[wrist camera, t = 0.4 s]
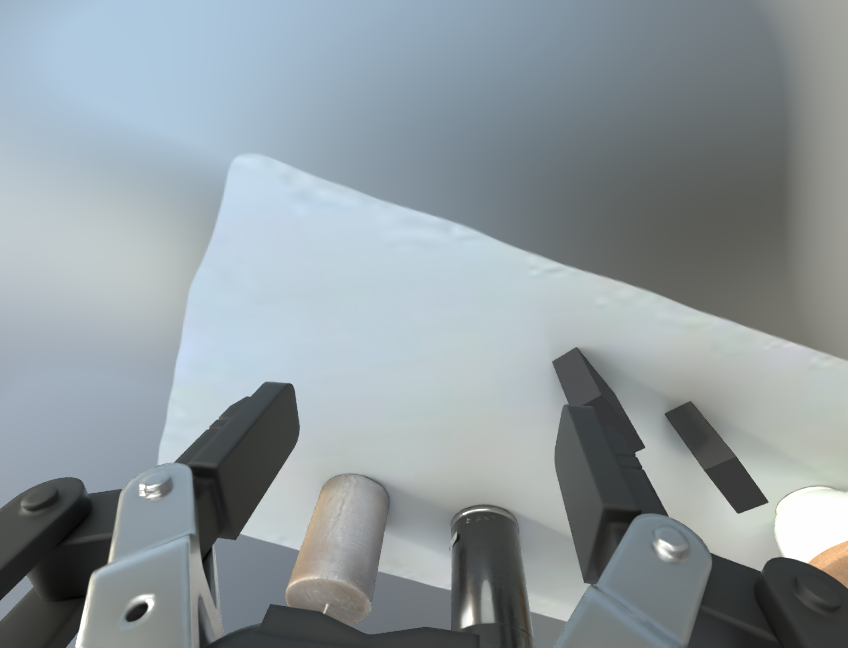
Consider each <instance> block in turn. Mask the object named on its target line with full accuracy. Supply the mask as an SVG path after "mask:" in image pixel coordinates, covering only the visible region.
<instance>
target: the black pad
mask: <svg viewBox="0 0 848 648" xmlns="http://www.w3.org/2000/svg"><path fill="white" fill-rule="evenodd" d="M665 415H666V417H667V418H668V420H669V421H670V422H671V424H672V425H673V427H674V428H675V430H676V431H677V432H678V434H679V435H680V437H681V438H682V440H683V441H684V442H685V444H686V445H687V447H688V448H689V449H690V451H691V452H692V454H693V455H694V457H695V458H696V459H697V461H698V462H699V464H700V465H701V467H702V468H703V469H704V471H705V472H706V473H707V475H708V476H709V477H710V479H711V480H712V481H713V482H714V484H715V485H716V486H717V488H718V489H719V490H720V492H721V493H722V494H723V495H724V497H725V498H726V499H727V501H728V502H729V503H730V505H731V506H732V507H733V508H734V510H735V511H736V512H737V513H738V514H739V513H742V512H744V511H747V510H750V509H753V508H755V507H758V506H761V505H763V504H766V503H768V500H767V499H766V497H765V496H764V495H763V493H762V492H761V490H760V489H759V488H758V486H757V485H756V483H755V482H754V481H753V479H752V478H751V476H750V475H749V474H748V472H747V471H746V469H745V468H744V466H743V465H742V464H741V462H740V461H739V459H738V458H737V457H736V455H735V454H734V453H733V452H732V450H731V449H730V448H729V447H728V446H727V444H726V443H725V442H724V441H723V440H722V438H721V437H720V436H719V435H718V434H717V432H716V431H715V430H714V429H713V427H712V426H711V425H710V424H709V423H708V421H707V420H706V419H705V418H704V417H703V415H702V414H701V413H700V412H699V411H698V409H697V408H696V407H695V406H694V405H693V403H692V402H688V403H686V404H684V405H682V406H680V407H678V408H676V409H674V410H672V411H670V412H668V413H666V414H665Z"/></svg>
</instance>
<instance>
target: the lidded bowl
mask: <svg viewBox="0 0 848 648" xmlns="http://www.w3.org/2000/svg"><path fill="white" fill-rule="evenodd" d="M776 514H777V516H776V519H775V524H774V529H775V537H776V541H777V544H778V547H779V549H780V551H781V553H782V555H783V557H785V558H792V559H796V560H799V561H802V562H805V563H808V564H810V565H812V566H815V567H816V568H818V569H820V570H822V571H824V572H826V573H827V574H829V575H831V576H832V577H834V578H835V579H836V580H838V581H839V582H841V583H842V584H843V585H844V586H846V587H847V588H848V492H844V491H838V490H834V489H832V488H829V487H822V486H815V487H808V488H804V489H800V490H798V491H795V492H793V493H791V494H789V495H788V496H786V497H785V498H783V499H782V500H781V501H780V503H779V504H778V506H777V508H776Z"/></svg>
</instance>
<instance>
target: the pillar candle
mask: <svg viewBox="0 0 848 648" xmlns="http://www.w3.org/2000/svg"><path fill="white" fill-rule="evenodd" d="M388 508H389V497H388V494H387V492H386V490H385V489H384V488H383V487H382V486H381V485H379V484H377V483H375V482H373V481H372V480H370V479H368V478H366V477H364V476H360V475H356V474H344V475H339V476H336V477H334V478H332V479H330V480H329V481H328V482H327V483H326V484H325V485H324V486H323V488H322V490H321V492H320V495H319V498H318V501H317V504H316V507H315V510H314V512H313V515H312V518H311V521H310V523H309V526H308V529H307V532H306V535H305V538H304V541H303V544H302V546H301V549H300V552H299V555H298V558H297V561H296V564H295V567H294V569H293V572H292V575H291V578H290V581H289V584H288V587H287V590H286V594H285V596H286V602H287V603H288V606H290V607H293V608H300V609H307V610H314V611H320V612H322V613H324V614H326V615H328V616H330V617H332V618H334V619H336V620H338V621H340V622H342V623H344V624H346V625H354V624H356V623H359V622H361V621H362V620H363V619H365V618H366V617H367V616H368V615H369V613H370V611H372V607H371V606H372V599H373V593H374V586H375V582H376V576H377V571H378V565H379V559H380V554H381V548H382V542H383V536H384V531H385V525H386V519H387V513H388Z"/></svg>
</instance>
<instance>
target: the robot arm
mask: <svg viewBox="0 0 848 648" xmlns="http://www.w3.org/2000/svg"><path fill="white" fill-rule="evenodd" d="M299 430H300V426H299V418H298V411H297V404H296V397H295V390H294V387H293V385H292V384H290V383H278V382H265V383H264V384H262V385H261V387H260V388H259V389H258V390H257V391H256V392H255V393H254V394H253V395H252V396H251V397H245V398H243V399H242V400H240V401H238V402H236V403H235V404H233V405H231V406H230V407H229V408H228V409H227V410H226V411H225V412H224V413H223V414H222V415H221V416H220V417H219V420H216V421H215V422H214V423H213V424H212V425H211V426H210V427H209V430H206V431H205V432H204V433H203V434H202V435H201V436H200V437H199V438H198V439H197V440H196V441H195V442H194V443H193V444H192V445H191V446H190V447H189V448H188V449H187V450H186V451H185V452H184V453H183V454H182V455H181V456H180V457H179V458H178V459H177V460H176V461H175V462H174V463H167V464H162V465H158V466H156V467H153V468H150V469H148V470H146V471H144V472H142V473H140V474H139V475H137V476H136V477H134V478H133V479H132V480H131V481H130V482H129V483H127V484H126V486H125V487H124V488H123V489H119V490H112V491H105V492H98V493H91V494H88V493H87V491H86V488H85V486H84V484H83V482H82V481H81V480H79V479H77V478H72V477H69V478H68V477H66V478H58V479H54V480H50V481H47V482H44V483H42V484H39V485H37V486H34V487H32V488H30V489H28V490H26V491H25V492H23V493H21V494H20V495H18V496H17V497H15V498H14V499H13V500H11V501H10V502H8V503H7V504H6V505H5V506H3V507H2V508H1V509H0V600H1V599H2V598H3V597H4V596H5V595H6V594H7V593H8V592H9V591H11V589H13V587H15V586H16V584H18V583H19V582H20V581H21V580H22V579H23V577H25V576H26V575H27V576H28V578H29V580H30V582H31V583H32V585H33V588H32V589H31V590H30V591H29V592H28V593H27V595H25V596H24V598H23V599H22V600H21V601H20V602H19V603H18V604H17V605H16V606H15V607H14V608H13V609H12V610H11V611H10V612H9V613H8V614H7V615H6V616H5V617H4V618H3V619H2V620H1V621H0V648H66V647H67V645H68V644H69V643H70V642H71V640H72V639H73V638H74V637H75V635H76V634H77V633H78V631H79V634H78V639H77V644H76V648H536V646H535V640H534V634H533V627H532V621H531V614H530V607H529V601H528V594H527V588H526V581H525V574H524V568H523V561H522V555H521V547H520V541H519V529H518V523H517V521H516V519H515V518H514V516H513V515H512V514H510V513H509V512H508V511H506V510H504V509H501V508H499V507H495V506H488V505H479V506H473V507H469V508H466V509H464V510H462V511H460V512H459V513H458V514H457V515H456V516H455V517H454V518H453V521H452V525H451V533H452V540H451V542H450V547H449V551H450V549H451V547H452V595H451V597H452V598H451V600H452V601H451V630H444V629H437V628H431V627H421V628H415V629H408V630H401V631H394V632H387V633H381V634H372V635H370V634H365V633H363V632H360V631H358V630H356V629H354V628H352V627H350V626H348V625H346V624H344V623H342V622H340V621H338V620H336V619H334V618H332V617H330V616H328V615H326V614H324V613H322V612H320V611H314V610H307V609H300V608H293V607H286V606H279V605H273V604H270V606H269V608H268V610H267V613H266V615H265V617H264V619H263V621H262V623H260V624H255V625H251V626H247V627H244V628H241V629H239V630H236V631H234V632H231V633H229V634H227V635H225V636H224V632H223V626H222V618H221V608H220V597H219V587H218V576H217V565H216V555H215V550H214V547H213V544H214V542H215V541H216V539H217V538H224V539H232V540H236V539H237V537H238V536H239V534H240V532H241V531H242V529H243V528H244V526H245V524H246V523H247V521H248V520H249V518H250V517H251V515H252V513H253V512H254V510H255V509H256V507H257V505H258V504H259V502H260V501H261V499H262V498H263V496H264V494H265V493H266V491H267V490H268V488H269V487H270V485H271V483H272V482H273V480H274V479H275V477H276V475H277V474H278V472H279V471H280V469H281V468H282V466H283V464H284V463H285V461H286V460H287V458H288V456H289V455H290V453H291V452H292V450H293V449H294V447H295V445H296V443H297V440H298V437H299ZM635 455H636V454H635V453H634V451H633V449H632V447H631V445H630V443H629V441H628V440H627V439H626V438H625V437H624V436H623V435H622V434H621V433H620V432H619V431H617V430H616V429H615V428H614V427H613V426H602V424H601V422H600V420H599V418H598V416H597V413H596V411H595V409H594V408H593V407H591V406H578V405H564V406H563V409H562V413H561V418H560V424H559V430H558V435H557V441H556V446H555V468H556V473H557V477H558V481H559V485H560V489H561V493H562V497H563V501H564V505H565V509H566V513H567V517H568V521H569V525H570V528H571V532H572V536H573V540H574V544H575V548H576V552H577V556H578V560H579V564H580V568H581V572H582V576H583V580H584V583H589V584H591V585H590V586H589V587H588V588H587V590H586V591H585V593H584V595H583V596H582V598H581V600H580V602H579V603H578V605H577V607H576V608H575V610H574V612H573V613H572V615H571V617H570V619H569V620H568V622H567V624H566V626H565V627H564V629H563V631H562V632H561V634H560V636H559V637H558V639H557V641H556V643H555V644H554V646H553V648H848V588H847V587H846V586H844V585H843V584H842V583H841V582H839V581H838V580H836V579H835V578H834V577H832V576H831V575H829V574H827V573H826V572H824V571H822V570H820V569H818V568H816V567H815V566H812V565H810V564H808V563H805V562H802V561H799V560H796V559H792V558H785V557H778V558H773V559H771V560H769V561H768V562H767V563H766V564H765V566H764V568H763V570H762V572H760V571H758V570H755V569H752V568H749V567H747V566H744V565H741V564H738V563H736V562H733V561H730V560H727V559H725V558H722V557H719V556H717V555H714V554H712V553H710V551H709V550H708V548H707V546H706V545H705V543H704V542H703V541H702V539H701V538H700V537H699V536H698V535H697V534H696V533H694V532H693V531H692V530H691V529H690V528H688V527H687V526H685V525H684V524H682V523H680V522H679V521H677V520H674V519H672V518H670V517H669V516H668V514H667V512H666V510H665V509H664V507H663V505H662V503H661V501H660V499H659V497H658V496H657V494H656V492H655V490H654V488H653V486H652V484H651V482H650V481H649V479H648V477H647V475H646V473H645V471H644V470H642V466H641V464H640V462H639V460H638V458H637V457H635ZM593 584H596V585H595V586H594V585H593Z"/></svg>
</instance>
